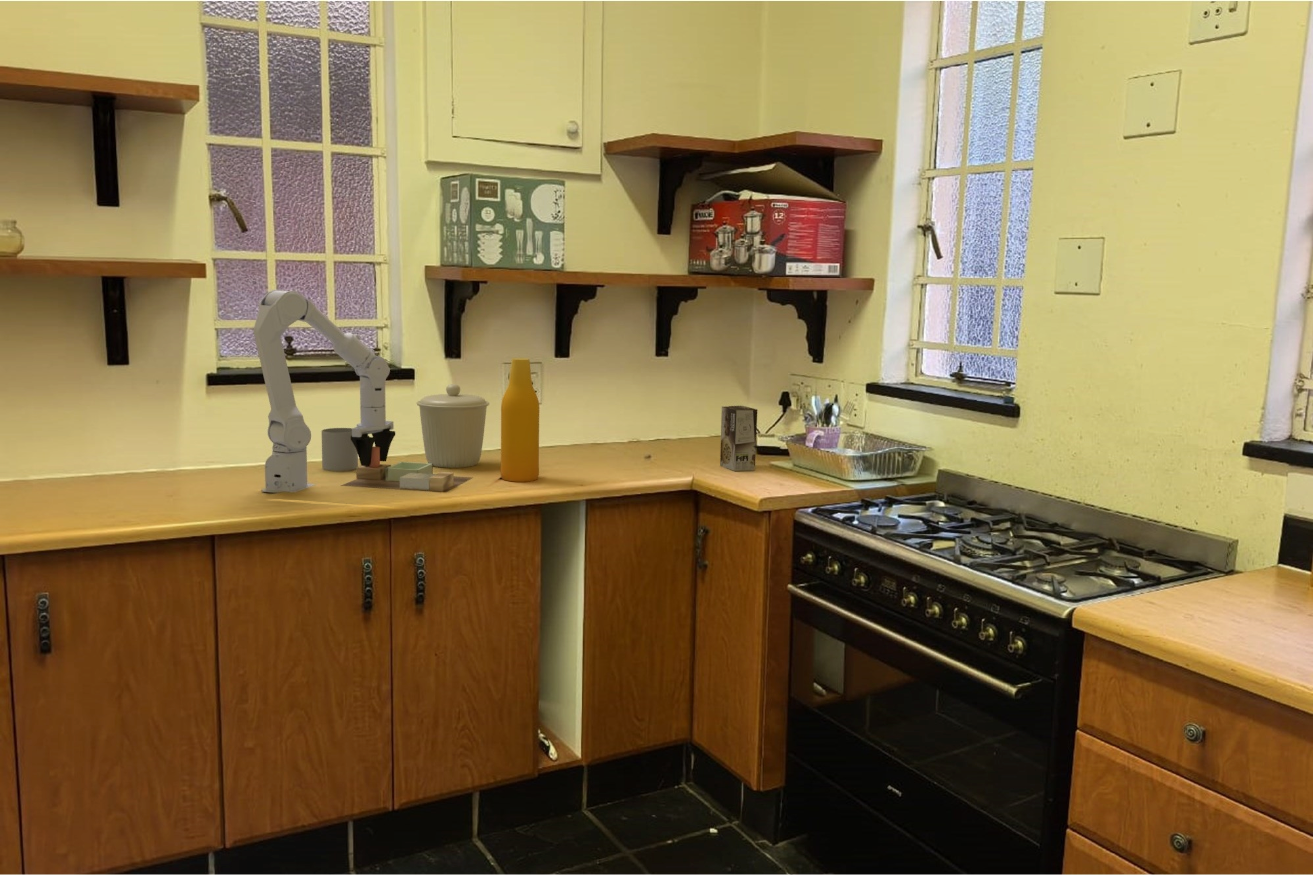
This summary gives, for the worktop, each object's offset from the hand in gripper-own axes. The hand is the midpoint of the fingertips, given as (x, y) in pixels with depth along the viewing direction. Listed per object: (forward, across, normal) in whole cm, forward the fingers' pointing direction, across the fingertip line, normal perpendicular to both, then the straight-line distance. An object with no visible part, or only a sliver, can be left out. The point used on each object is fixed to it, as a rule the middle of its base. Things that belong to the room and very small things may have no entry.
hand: (373, 463), depth 247 cm
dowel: (+3, 0, 0) cm, 3 cm away
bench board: (+4, +2, +10) cm, 11 cm away
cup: (+4, -6, -14) cm, 15 cm away
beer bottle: (+4, -15, +31) cm, 35 cm away
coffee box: (+4, -53, +76) cm, 93 cm away
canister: (+4, -23, +8) cm, 25 cm away
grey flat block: (+3, +6, +16) cm, 17 cm away
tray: (+3, -2, +8) cm, 9 cm away
